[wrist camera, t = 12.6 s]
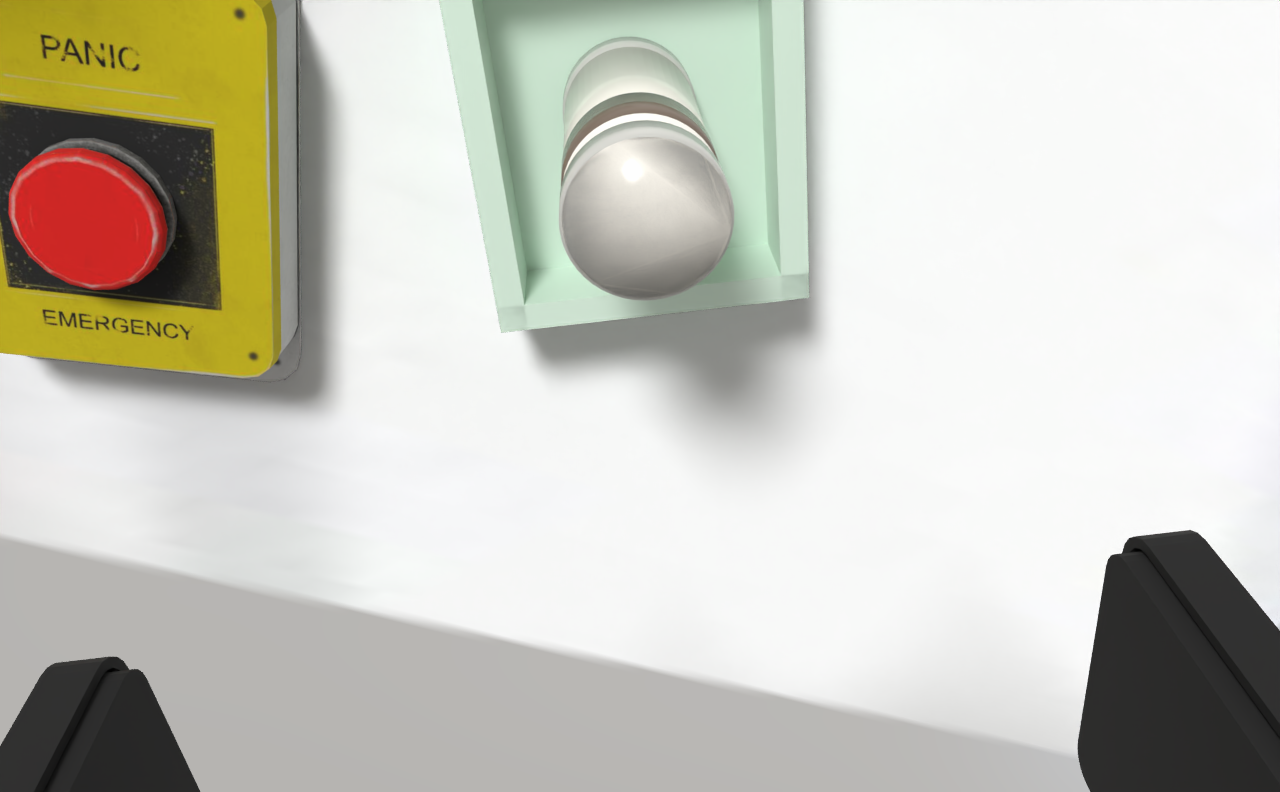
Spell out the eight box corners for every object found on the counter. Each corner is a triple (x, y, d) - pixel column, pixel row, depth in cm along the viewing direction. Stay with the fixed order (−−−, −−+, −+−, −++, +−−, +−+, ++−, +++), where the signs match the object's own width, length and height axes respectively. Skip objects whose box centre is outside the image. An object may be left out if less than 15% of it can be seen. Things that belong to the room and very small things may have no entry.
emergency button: (-63, 416, 30) (-183, -172, 23) (7, 344, 34) (-76, -181, 27) (272, 448, 32) (261, -102, 24) (304, 376, 35) (303, -119, 28)
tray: (438, -91, 28) (424, -77, 25) (780, -131, 28) (801, -120, 25) (506, 289, 34) (501, 332, 31) (791, 256, 33) (809, 297, 31)
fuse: (554, 44, 29) (546, 145, 22) (688, 29, 29) (729, 124, 21) (572, 174, 31) (571, 309, 23) (698, 159, 31) (738, 290, 23)
